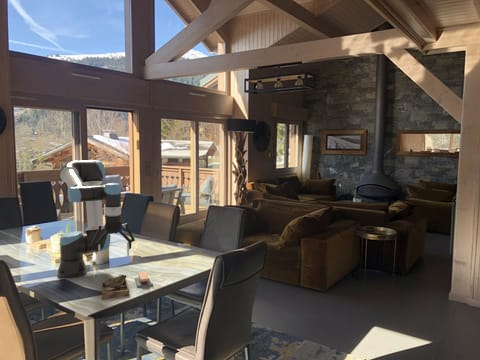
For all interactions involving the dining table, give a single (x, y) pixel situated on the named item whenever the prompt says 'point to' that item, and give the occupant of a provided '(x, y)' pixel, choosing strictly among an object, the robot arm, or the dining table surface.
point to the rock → (115, 281)
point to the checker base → (139, 284)
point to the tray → (114, 290)
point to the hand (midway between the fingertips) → (114, 256)
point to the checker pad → (143, 276)
